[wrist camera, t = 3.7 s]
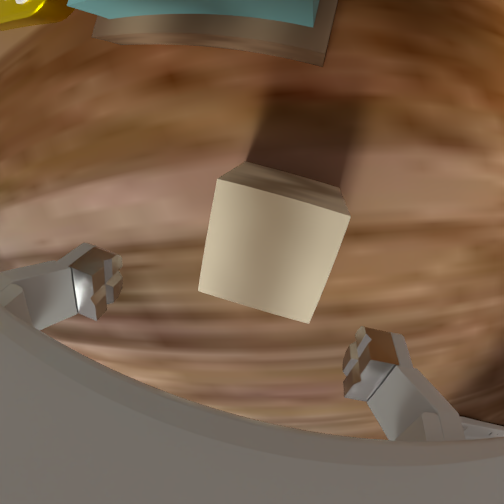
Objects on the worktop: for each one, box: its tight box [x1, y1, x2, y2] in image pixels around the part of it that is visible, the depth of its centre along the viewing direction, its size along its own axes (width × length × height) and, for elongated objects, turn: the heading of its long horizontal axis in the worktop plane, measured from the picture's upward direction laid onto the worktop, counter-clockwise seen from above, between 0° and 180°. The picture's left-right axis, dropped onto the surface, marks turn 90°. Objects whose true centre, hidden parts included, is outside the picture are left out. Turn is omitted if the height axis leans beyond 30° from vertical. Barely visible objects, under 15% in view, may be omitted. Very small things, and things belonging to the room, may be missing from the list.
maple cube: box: [198, 162, 351, 324], centre depth 17 cm, size 6×6×6 cm
